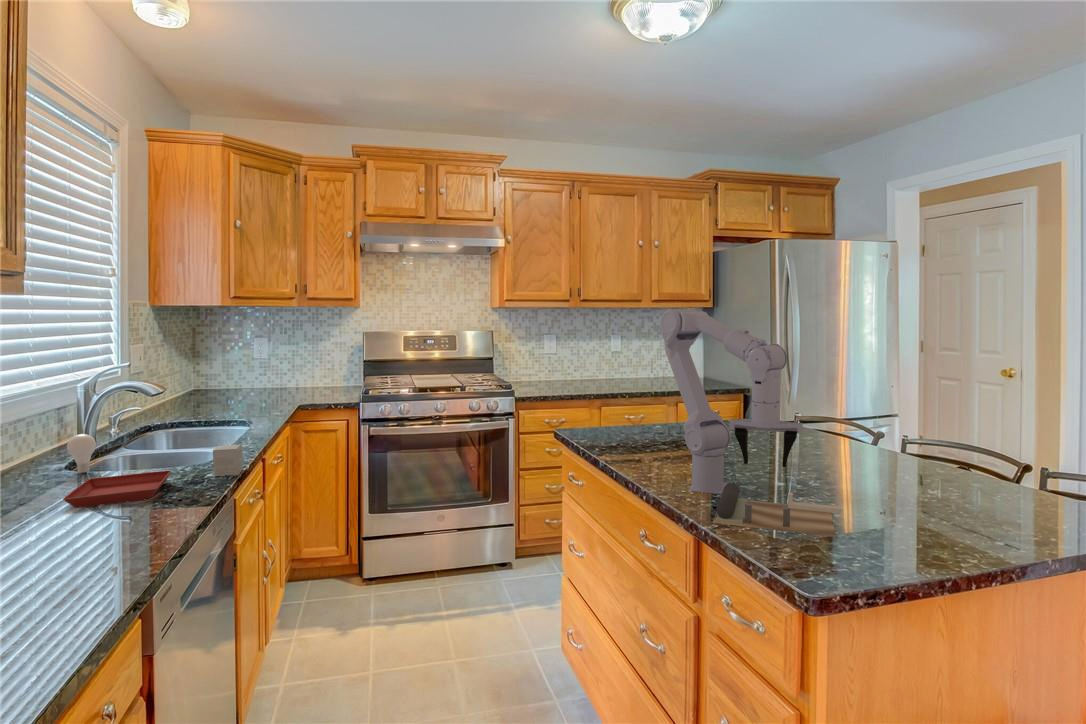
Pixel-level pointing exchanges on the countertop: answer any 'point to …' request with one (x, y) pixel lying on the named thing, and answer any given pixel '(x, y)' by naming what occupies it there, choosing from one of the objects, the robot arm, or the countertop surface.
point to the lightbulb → (81, 450)
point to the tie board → (779, 518)
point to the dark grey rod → (728, 501)
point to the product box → (227, 460)
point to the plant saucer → (117, 489)
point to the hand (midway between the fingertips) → (764, 464)
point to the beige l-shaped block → (812, 506)
